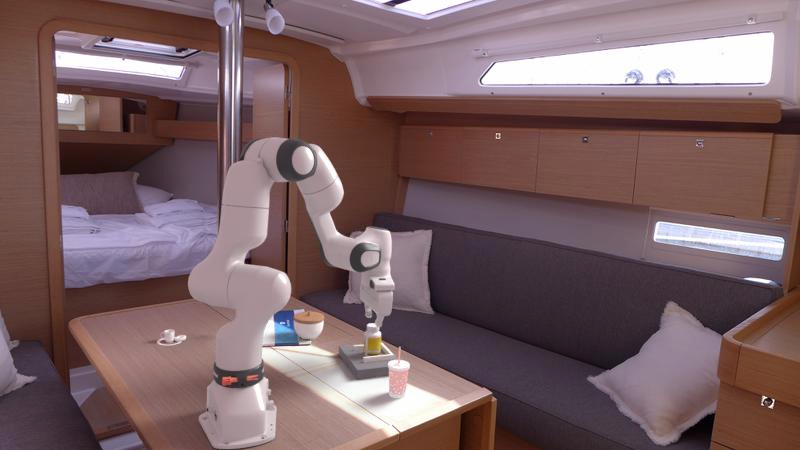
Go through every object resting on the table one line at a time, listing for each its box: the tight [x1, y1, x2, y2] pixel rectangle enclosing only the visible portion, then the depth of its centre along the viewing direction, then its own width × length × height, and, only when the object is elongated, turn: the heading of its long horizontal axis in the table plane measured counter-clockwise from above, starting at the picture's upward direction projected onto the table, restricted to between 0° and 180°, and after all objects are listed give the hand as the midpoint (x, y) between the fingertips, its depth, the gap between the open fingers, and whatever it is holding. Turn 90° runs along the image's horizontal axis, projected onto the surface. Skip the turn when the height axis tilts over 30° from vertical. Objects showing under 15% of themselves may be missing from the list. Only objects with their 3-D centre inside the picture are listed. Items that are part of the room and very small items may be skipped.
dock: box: [338, 341, 398, 381], centre depth 174 cm, size 20×15×4 cm
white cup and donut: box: [156, 329, 187, 347], centre depth 184 cm, size 9×8×4 cm
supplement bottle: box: [363, 322, 382, 357], centre depth 173 cm, size 5×5×10 cm
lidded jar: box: [293, 310, 325, 341], centre depth 194 cm, size 11×11×9 cm
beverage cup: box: [388, 346, 411, 399], centre depth 153 cm, size 6×6×14 cm
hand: (373, 321), depth 172 cm, fingers open, 8 cm apart
